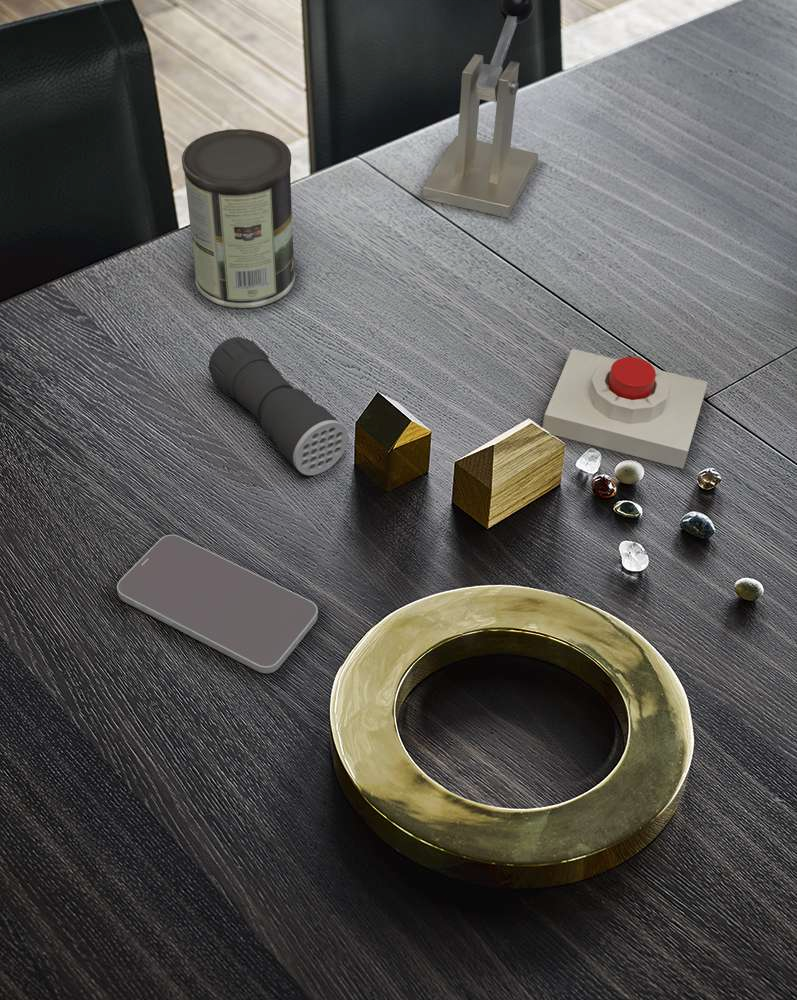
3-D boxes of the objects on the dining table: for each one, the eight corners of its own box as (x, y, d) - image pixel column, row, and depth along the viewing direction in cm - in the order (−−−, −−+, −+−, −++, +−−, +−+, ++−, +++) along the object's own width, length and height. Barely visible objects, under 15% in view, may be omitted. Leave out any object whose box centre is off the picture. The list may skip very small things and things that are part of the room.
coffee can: (256, 238, 133) (250, 117, 123) (315, 284, 128) (313, 162, 118) (174, 272, 129) (160, 149, 119) (231, 322, 123) (221, 198, 113)
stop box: (703, 399, 118) (712, 366, 115) (683, 469, 111) (692, 436, 108) (568, 366, 120) (574, 333, 118) (541, 432, 114) (546, 399, 111)
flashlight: (205, 389, 116) (200, 343, 113) (254, 367, 119) (251, 322, 115) (297, 484, 108) (295, 438, 104) (348, 459, 110) (348, 413, 107)
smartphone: (270, 672, 93) (110, 589, 98) (270, 680, 94) (111, 597, 99) (323, 606, 98) (168, 530, 102) (323, 613, 98) (169, 537, 103)
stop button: (656, 377, 114) (660, 363, 113) (647, 405, 111) (650, 390, 110) (613, 367, 115) (616, 352, 114) (603, 394, 112) (606, 379, 111)
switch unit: (455, 146, 148) (463, 34, 138) (537, 164, 146) (551, 51, 136) (422, 199, 140) (428, 83, 130) (508, 218, 138) (521, 102, 128)
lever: (506, 0, 139) (505, -22, 136) (537, 6, 138) (537, -16, 135) (471, 100, 136) (468, 80, 132) (502, 107, 135) (501, 87, 132)
